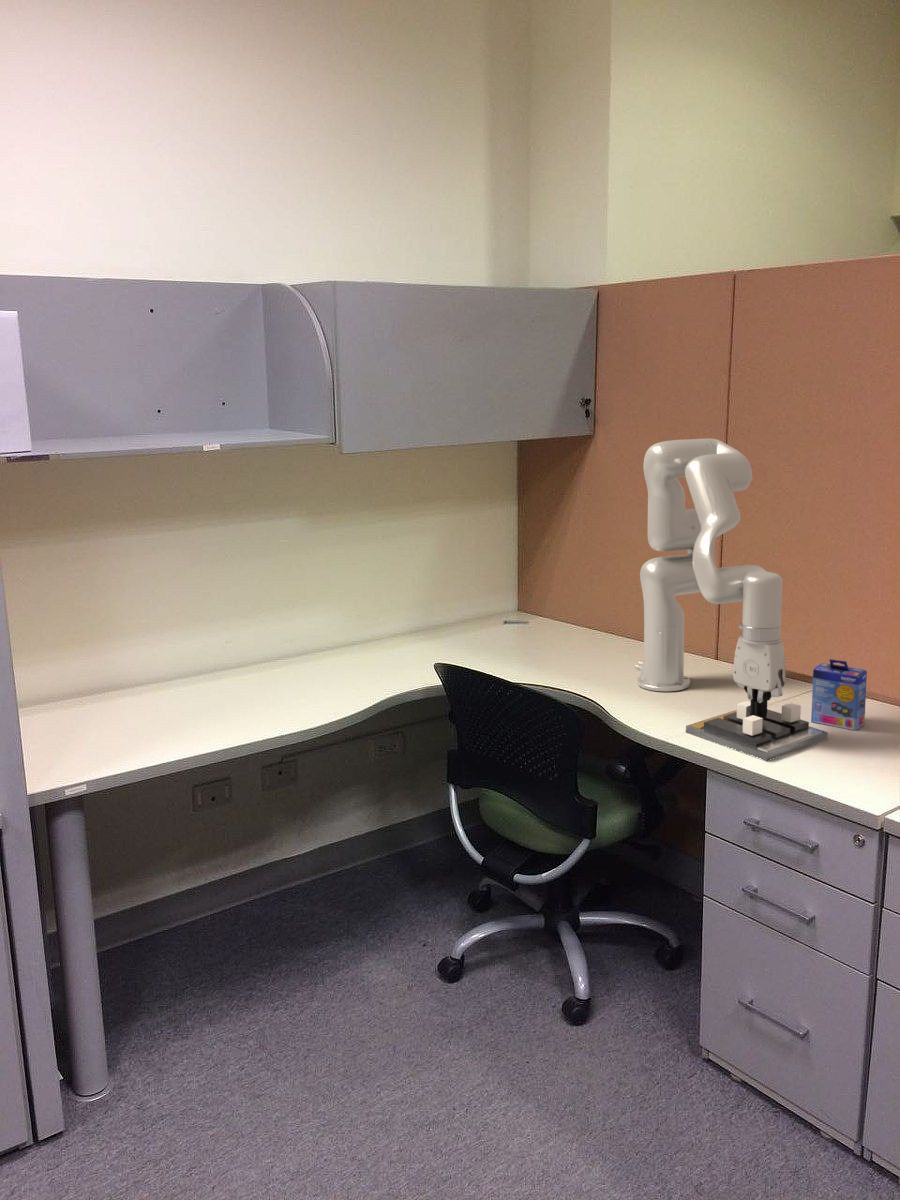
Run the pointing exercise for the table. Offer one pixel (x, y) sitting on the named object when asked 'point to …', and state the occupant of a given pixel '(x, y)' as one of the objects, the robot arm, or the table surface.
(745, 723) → the cream upright box
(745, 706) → the matte ivory cube
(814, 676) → the ink cartridge box
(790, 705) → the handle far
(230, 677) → the table surface
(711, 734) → the panel
